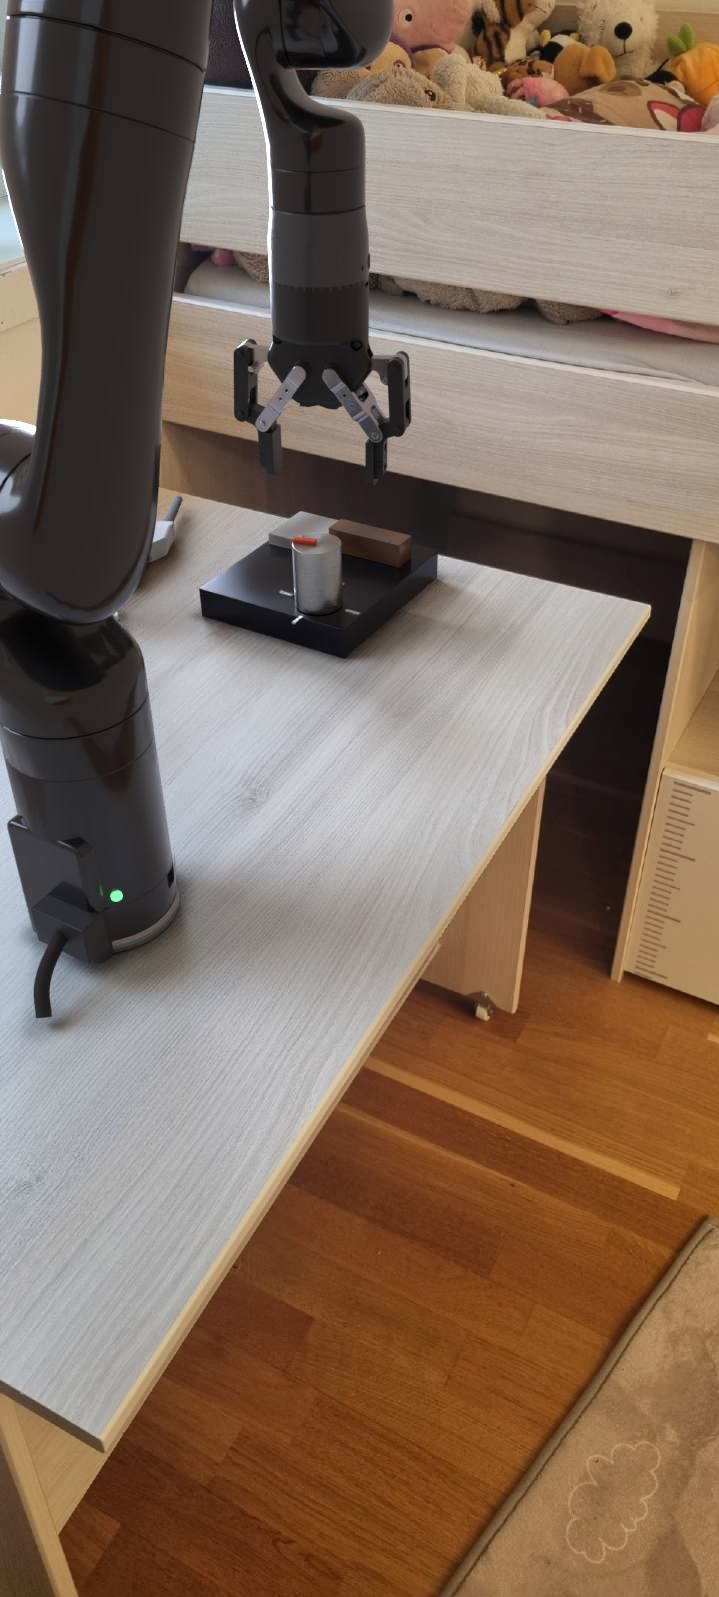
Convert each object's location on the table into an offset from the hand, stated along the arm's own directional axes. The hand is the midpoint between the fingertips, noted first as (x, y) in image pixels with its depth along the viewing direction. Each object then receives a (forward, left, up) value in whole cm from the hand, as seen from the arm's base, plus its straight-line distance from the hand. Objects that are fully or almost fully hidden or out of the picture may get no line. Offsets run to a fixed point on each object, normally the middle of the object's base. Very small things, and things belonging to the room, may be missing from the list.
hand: (323, 476), depth 100 cm
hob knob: (+2, +2, -13) cm, 14 cm away
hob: (+8, +6, -16) cm, 19 cm away
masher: (+13, +6, -13) cm, 19 cm away
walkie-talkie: (+7, +29, -17) cm, 34 cm away
